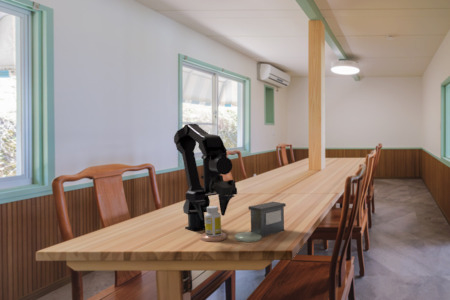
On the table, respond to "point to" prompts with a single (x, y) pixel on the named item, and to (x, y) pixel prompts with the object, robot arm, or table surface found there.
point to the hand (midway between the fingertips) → (212, 217)
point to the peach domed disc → (213, 239)
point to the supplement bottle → (212, 222)
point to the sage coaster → (248, 237)
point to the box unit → (267, 218)
